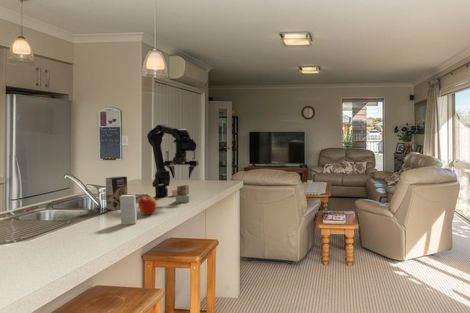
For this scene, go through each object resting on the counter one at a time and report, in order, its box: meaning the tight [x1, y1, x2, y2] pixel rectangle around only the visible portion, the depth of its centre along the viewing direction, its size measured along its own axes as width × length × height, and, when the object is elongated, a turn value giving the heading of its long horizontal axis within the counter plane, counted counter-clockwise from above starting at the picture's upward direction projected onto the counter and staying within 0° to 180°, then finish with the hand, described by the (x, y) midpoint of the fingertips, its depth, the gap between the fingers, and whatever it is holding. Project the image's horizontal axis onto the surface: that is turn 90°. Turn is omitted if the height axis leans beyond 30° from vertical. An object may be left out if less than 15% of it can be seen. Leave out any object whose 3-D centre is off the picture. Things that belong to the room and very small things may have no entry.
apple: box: [138, 193, 157, 215], centre depth 211 cm, size 8×8×10 cm
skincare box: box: [119, 194, 138, 226], centre depth 191 cm, size 6×4×12 cm
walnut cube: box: [176, 184, 190, 195], centre depth 248 cm, size 5×5×5 cm
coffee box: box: [105, 176, 129, 211], centre depth 232 cm, size 9×6×16 cm
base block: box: [175, 193, 191, 204], centre depth 249 cm, size 7×7×4 cm
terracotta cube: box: [171, 188, 177, 197], centre depth 272 cm, size 4×4×4 cm
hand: (181, 178), depth 256 cm, fingers open, 9 cm apart
